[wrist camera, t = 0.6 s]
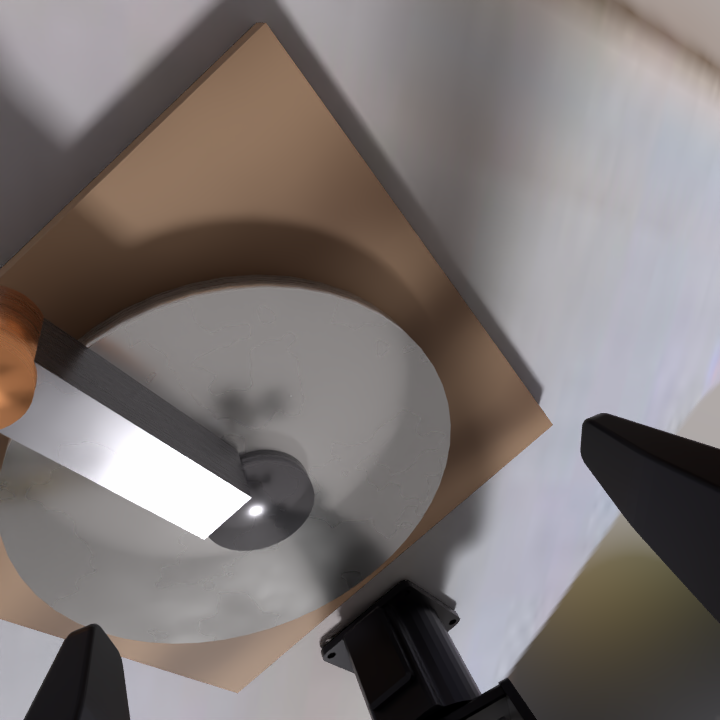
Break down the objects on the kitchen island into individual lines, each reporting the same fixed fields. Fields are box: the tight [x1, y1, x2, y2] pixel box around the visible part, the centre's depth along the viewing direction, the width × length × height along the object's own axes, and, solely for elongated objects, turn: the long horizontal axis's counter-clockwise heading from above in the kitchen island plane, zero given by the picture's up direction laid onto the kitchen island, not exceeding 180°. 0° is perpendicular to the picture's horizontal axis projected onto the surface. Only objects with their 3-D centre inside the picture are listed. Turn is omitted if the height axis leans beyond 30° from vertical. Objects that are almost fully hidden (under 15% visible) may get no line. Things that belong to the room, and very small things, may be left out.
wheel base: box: [0, 23, 553, 693], centre depth 22 cm, size 21×21×1 cm
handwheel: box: [0, 275, 451, 644], centre depth 19 cm, size 19×16×4 cm
